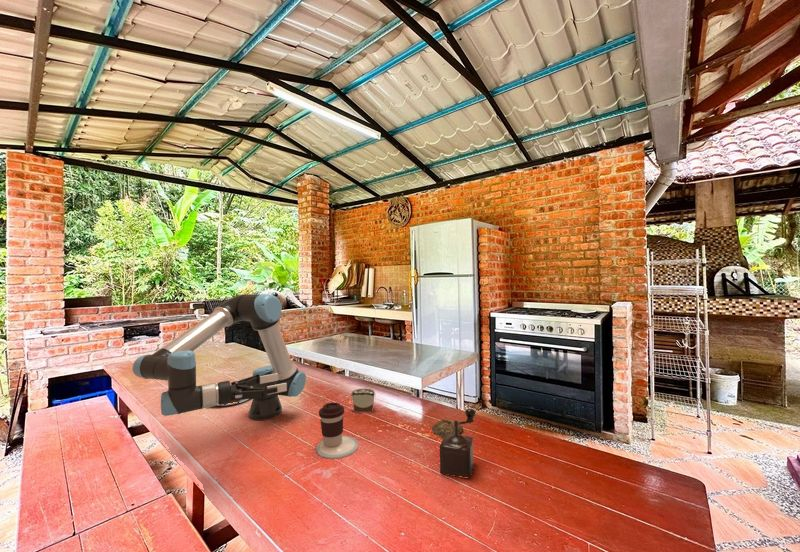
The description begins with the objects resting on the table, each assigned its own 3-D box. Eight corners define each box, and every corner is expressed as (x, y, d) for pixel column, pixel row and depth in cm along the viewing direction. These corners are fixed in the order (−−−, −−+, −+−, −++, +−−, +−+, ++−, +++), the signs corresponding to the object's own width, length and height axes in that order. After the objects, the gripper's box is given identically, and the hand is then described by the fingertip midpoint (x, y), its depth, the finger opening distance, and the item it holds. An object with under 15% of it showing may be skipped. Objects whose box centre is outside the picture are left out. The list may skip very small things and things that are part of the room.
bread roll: (467, 431, 140) (466, 420, 140) (450, 442, 131) (449, 430, 131) (443, 422, 149) (443, 411, 149) (425, 432, 140) (425, 420, 140)
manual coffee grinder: (472, 480, 106) (471, 425, 106) (439, 474, 110) (438, 420, 110) (477, 455, 121) (476, 407, 121) (447, 450, 124) (447, 403, 124)
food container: (377, 407, 166) (377, 388, 166) (375, 412, 160) (375, 392, 160) (354, 407, 167) (353, 387, 167) (351, 411, 161) (350, 391, 161)
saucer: (311, 444, 130) (311, 442, 130) (348, 433, 139) (348, 431, 139) (324, 463, 117) (324, 461, 117) (364, 450, 125) (364, 448, 125)
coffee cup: (349, 438, 132) (348, 402, 132) (336, 451, 123) (335, 412, 123) (329, 435, 136) (328, 399, 136) (314, 447, 127) (313, 409, 126)
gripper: (215, 393, 121) (274, 382, 132) (220, 418, 100) (290, 402, 111) (214, 373, 120) (274, 364, 132) (219, 394, 100) (290, 380, 111)
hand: (282, 381), depth 122 cm, fingers open, 13 cm apart
